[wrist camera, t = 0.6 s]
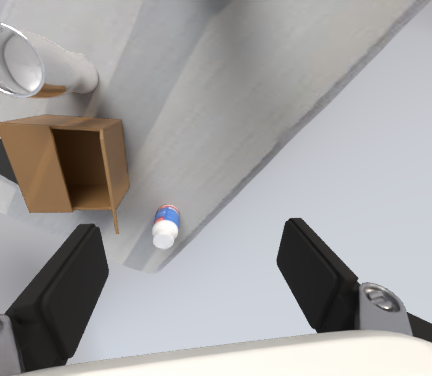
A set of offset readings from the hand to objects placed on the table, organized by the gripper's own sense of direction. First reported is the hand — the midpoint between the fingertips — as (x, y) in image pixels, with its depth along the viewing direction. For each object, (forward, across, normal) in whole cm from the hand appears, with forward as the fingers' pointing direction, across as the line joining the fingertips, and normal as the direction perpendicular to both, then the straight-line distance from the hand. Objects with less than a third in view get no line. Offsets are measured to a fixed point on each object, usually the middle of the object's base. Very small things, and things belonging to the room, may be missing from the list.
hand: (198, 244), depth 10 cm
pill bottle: (+34, +5, +19) cm, 39 cm away
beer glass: (+33, +18, -9) cm, 39 cm away
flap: (+20, +12, +5) cm, 24 cm away
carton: (+34, +19, +5) cm, 39 cm away
